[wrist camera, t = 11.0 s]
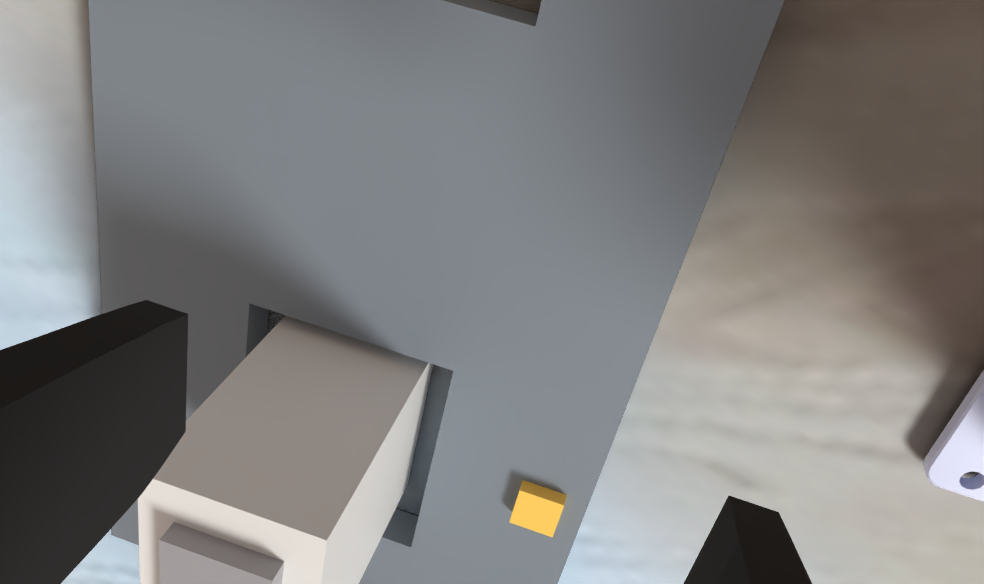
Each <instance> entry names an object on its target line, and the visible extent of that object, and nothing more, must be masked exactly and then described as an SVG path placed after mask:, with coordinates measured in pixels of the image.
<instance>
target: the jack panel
mask: <svg viewBox="0 0 984 584" xmlns="http://www.w3.org/2000/svg"><path fill="white" fill-rule="evenodd" d="M784 1H785V0H542V1H541V5H540V9H539V14H537V13H534V12H530V11H527V10H523V9H520V8H516V7H512V6H509V5H505V4H502V3H498V2H495V1H491V0H88V7H89V30H90V53H91V76H92V99H93V122H94V145H95V168H96V190H97V213H98V236H99V259H100V282H101V305H102V314H104V313H107V312H110V311H112V310H115V309H118V308H121V307H124V306H127V305H131V304H134V303H137V302H141V301H144V300H148V301H151V302H154V303H157V304H160V305H163V306H166V307H169V308H172V309H175V310H178V311H181V312H184V313H187V314H188V349H187V392H186V420H187V419H188V418H189V417H190V416H191V415H192V414H193V413H194V412H195V411H196V410H197V409H198V408H199V407H200V406H201V405H202V403H203V402H204V401H205V400H206V399H207V398H208V397H209V396H210V395H211V394H212V393H213V392H214V391H215V390H216V389H217V388H218V386H219V385H220V384H221V383H222V382H223V381H224V380H225V379H226V378H227V377H228V376H229V375H230V374H231V373H232V372H233V371H234V369H235V368H236V367H237V366H238V365H239V364H240V363H241V362H242V361H243V360H244V359H245V358H246V357H247V356H248V355H249V354H250V352H251V351H252V350H253V349H254V348H255V347H256V346H257V345H258V344H259V343H260V342H261V341H262V340H263V339H264V338H265V337H266V335H267V331H268V319H269V310H271V311H274V312H277V313H280V314H283V315H286V316H289V317H292V318H295V319H298V320H301V321H304V322H307V323H310V324H313V325H316V326H319V327H322V328H325V329H328V330H331V331H334V332H337V333H340V334H343V335H346V336H349V337H352V338H355V339H358V340H361V341H364V342H367V343H370V344H374V345H377V346H380V347H383V348H386V349H389V350H392V351H395V352H398V353H401V354H404V355H407V356H410V357H413V358H416V359H419V360H422V361H425V362H428V363H431V364H434V365H437V366H440V367H443V368H446V369H449V370H452V371H453V374H452V378H451V383H450V387H449V391H448V395H447V399H446V404H445V408H444V412H443V416H442V420H441V424H440V429H439V433H438V437H437V441H436V445H435V450H434V454H433V458H432V462H431V466H430V471H429V475H428V479H427V483H426V487H425V492H424V496H423V500H422V504H421V508H420V513H419V516H416V515H413V514H410V513H408V512H405V511H402V510H399V509H395V511H394V513H393V515H392V517H391V519H390V521H389V523H388V525H387V527H386V529H385V531H384V533H383V535H382V537H381V539H380V541H379V544H378V546H377V548H376V550H375V552H374V554H373V556H372V558H371V560H370V562H369V564H368V566H367V568H366V570H365V572H364V574H363V576H362V578H361V580H360V582H359V584H557V583H558V581H559V578H560V576H561V573H562V571H563V568H564V566H565V563H566V560H567V558H568V555H569V553H570V550H571V548H572V545H573V542H574V540H575V537H576V535H577V532H578V530H579V527H580V524H581V522H582V519H583V517H584V514H585V512H586V509H587V506H588V504H589V501H590V499H591V496H592V494H593V491H594V489H595V486H596V483H597V481H598V478H599V476H600V473H601V471H602V468H603V465H604V463H605V460H606V458H607V455H608V453H609V450H610V447H611V445H612V442H613V440H614V437H615V435H616V432H617V430H618V427H619V424H620V422H621V419H622V417H623V414H624V412H625V409H626V406H627V404H628V401H629V399H630V396H631V394H632V391H633V388H634V386H635V383H636V381H637V378H638V376H639V373H640V370H641V368H642V365H643V363H644V360H645V358H646V355H647V353H648V350H649V347H650V345H651V342H652V340H653V337H654V335H655V332H656V329H657V327H658V324H659V322H660V319H661V317H662V314H663V311H664V309H665V306H666V304H667V301H668V299H669V296H670V293H671V291H672V288H673V286H674V283H675V281H676V278H677V276H678V273H679V270H680V268H681V265H682V263H683V260H684V258H685V255H686V252H687V250H688V247H689V245H690V242H691V240H692V237H693V234H694V232H695V229H696V227H697V224H698V222H699V219H700V217H701V214H702V211H703V209H704V206H705V204H706V201H707V199H708V196H709V193H710V191H711V188H712V186H713V183H714V181H715V178H716V175H717V173H718V170H719V168H720V165H721V163H722V160H723V157H724V155H725V152H726V150H727V147H728V145H729V142H730V140H731V137H732V134H733V132H734V129H735V127H736V124H737V122H738V119H739V116H740V114H741V111H742V109H743V106H744V104H745V101H746V98H747V96H748V93H749V91H750V88H751V86H752V83H753V80H754V78H755V75H756V73H757V70H758V68H759V65H760V63H761V60H762V57H763V55H764V52H765V50H766V47H767V45H768V42H769V39H770V37H771V34H772V32H773V29H774V27H775V24H776V21H777V19H778V16H779V14H780V11H781V9H782V6H783V4H784ZM111 535H113V536H116V537H118V538H121V539H124V540H127V541H129V542H132V543H135V544H137V545H139V527H138V499H137V500H136V501H135V502H134V504H133V505H132V506H131V507H130V508H129V509H128V510H127V511H126V513H125V514H124V515H123V516H122V517H121V518H120V519H119V520H118V521H117V522H116V524H115V525H114V526H113V527H112V528H111Z"/></svg>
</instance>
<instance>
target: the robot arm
mask: <svg viewBox="0 0 984 584" xmlns="http://www.w3.org/2000/svg"><path fill="white" fill-rule="evenodd" d="M187 349H188V314H187V313H184V312H181V311H178V310H175V309H172V308H169V307H166V306H163V305H160V304H157V303H154V302H151V301H148V300H144V301H141V302H137V303H134V304H131V305H127V306H124V307H121V308H118V309H115V310H112V311H110V312H107V313H104V314H101V315H98V316H95V317H92V318H90V319H87V320H84V321H81V322H78V323H76V324H73V325H70V326H67V327H65V328H62V329H59V330H56V331H53V332H51V333H48V334H45V335H42V336H39V337H37V338H34V339H31V340H28V341H25V342H22V343H20V344H17V345H14V346H11V347H8V348H5V349H3V350H0V584H61V582H62V581H63V580H64V579H65V578H66V577H67V576H68V575H69V574H70V573H71V572H72V571H73V569H74V568H75V567H76V566H77V565H78V564H79V563H80V562H81V561H82V560H83V559H84V558H85V556H86V555H87V554H88V553H89V552H90V551H91V550H92V549H93V548H94V547H95V546H96V545H97V543H98V542H99V541H100V540H101V539H102V538H103V537H104V536H105V535H106V533H107V532H108V531H109V530H110V529H111V528H112V527H113V526H114V525H115V524H116V522H117V521H118V520H119V519H120V518H121V517H122V516H123V515H124V514H125V513H126V511H127V510H128V509H129V508H130V507H131V506H132V505H133V504H134V502H135V501H136V500H137V499H138V498H139V497H140V496H141V494H142V493H143V492H144V490H145V489H146V488H147V486H148V485H149V484H150V482H151V481H152V479H153V478H154V477H155V475H156V474H157V473H158V471H159V470H160V468H161V467H162V466H163V464H164V463H165V461H166V460H167V458H168V457H169V455H170V454H171V452H172V451H173V449H174V448H175V447H176V445H177V444H178V442H179V441H180V439H181V438H182V436H183V435H184V433H185V432H186V392H187ZM923 465H924V470H925V473H926V476H927V478H928V480H929V481H930V482H931V483H932V484H934V485H935V486H937V487H939V488H942V489H945V490H949V491H952V492H955V493H958V494H961V495H964V496H967V497H970V498H973V499H976V500H979V501H982V502H984V370H983V371H982V373H981V374H980V376H979V377H978V379H977V380H976V382H975V383H974V385H973V386H972V388H971V389H970V391H969V392H968V394H967V395H966V397H965V398H964V400H963V401H962V403H961V404H960V406H959V407H958V409H957V410H956V412H955V413H954V415H953V416H952V418H951V419H950V421H949V422H948V424H947V425H946V427H945V428H944V430H943V431H942V433H941V434H940V436H939V437H938V439H937V440H936V442H935V443H934V445H933V446H932V448H931V449H930V451H929V452H928V454H927V455H926V457H925V460H924V462H923ZM971 471H972V472H979V474H978V475H976V476H975V477H972V478H962V477H961V476H962V475H963V474H965V473H968V472H971ZM684 584H812V582H811V580H810V578H809V576H808V574H807V572H806V570H805V567H804V565H803V563H802V561H801V559H800V557H799V554H798V552H797V550H796V548H795V546H794V544H793V542H792V539H791V537H790V535H789V533H788V531H787V529H786V527H785V525H784V523H783V521H782V518H781V516H780V514H779V512H776V511H773V510H770V509H767V508H764V507H761V506H758V505H755V504H752V503H749V502H746V501H743V500H740V499H737V498H734V497H731V496H728V498H727V500H726V502H725V504H724V506H723V508H722V510H721V512H720V514H719V516H718V518H717V520H716V522H715V524H714V526H713V528H712V529H711V531H710V533H709V535H708V537H707V539H706V541H705V543H704V545H703V547H702V549H701V551H700V553H699V555H698V557H697V559H696V561H695V563H694V565H693V567H692V568H691V570H690V572H689V574H688V576H687V578H686V580H685V582H684Z"/></svg>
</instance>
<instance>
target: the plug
mask: <svg viewBox="0 0 984 584" xmlns="http://www.w3.org/2000/svg"><path fill="white" fill-rule="evenodd" d="M432 368H433V364H431V363H428V362H425V361H422V360H419V359H416V358H413V357H410V356H407V355H404V354H401V353H398V352H395V351H392V350H389V349H386V348H383V347H380V346H377V345H374V344H370V343H367V342H364V341H361V340H358V339H355V338H352V337H349V336H346V335H343V334H340V333H337V332H334V331H331V330H328V329H325V328H322V327H319V326H316V325H313V324H310V323H307V322H304V321H301V320H298V319H295V318H292V317H289V316H286V315H285V316H284V317H283V318H282V320H281V321H280V322H279V323H278V324H277V325H276V326H275V327H274V328H273V329H272V330H271V331H270V332H269V333H268V334H267V335H266V337H265V338H264V339H263V340H262V341H261V342H260V343H259V344H258V345H257V346H256V347H255V348H254V349H253V350H252V351H251V352H250V354H249V355H248V356H247V357H246V358H245V359H244V360H243V361H242V362H241V363H240V364H239V365H238V366H237V367H236V368H235V369H234V371H233V372H232V373H231V374H230V375H229V376H228V377H227V378H226V379H225V380H224V381H223V382H222V383H221V384H220V385H219V386H218V388H217V389H216V390H215V391H214V392H213V393H212V394H211V395H210V396H209V397H208V398H207V399H206V400H205V401H204V402H203V403H202V405H201V406H200V407H199V408H198V409H197V410H196V411H195V412H194V413H193V414H192V415H191V416H190V417H189V418H188V419H187V420H186V432H185V433H184V435H183V436H182V438H181V439H180V441H179V442H178V444H177V445H176V447H175V448H174V449H173V451H172V452H171V454H170V455H169V457H168V458H167V460H166V461H165V463H164V464H163V466H162V467H161V468H160V470H159V471H158V473H157V474H156V475H155V477H154V478H153V479H152V481H151V482H150V484H149V485H148V486H147V488H146V489H145V490H144V492H143V493H142V494H141V496H140V497H139V498H138V527H139V562H140V584H359V582H360V580H361V578H362V576H363V574H364V572H365V570H366V568H367V566H368V564H369V562H370V560H371V558H372V556H373V554H374V552H375V550H376V548H377V546H378V544H379V541H380V539H381V537H382V535H383V533H384V531H385V529H386V527H387V525H388V523H389V521H390V519H391V517H392V515H393V513H394V511H395V509H396V507H397V505H398V503H399V501H400V499H401V497H402V495H403V493H404V491H405V489H406V487H407V485H408V481H409V477H410V472H411V467H412V463H413V458H414V453H415V448H416V444H417V439H418V434H419V430H420V425H421V420H422V415H423V411H424V406H425V401H426V396H427V392H428V387H429V382H430V378H431V373H432Z"/></svg>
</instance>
